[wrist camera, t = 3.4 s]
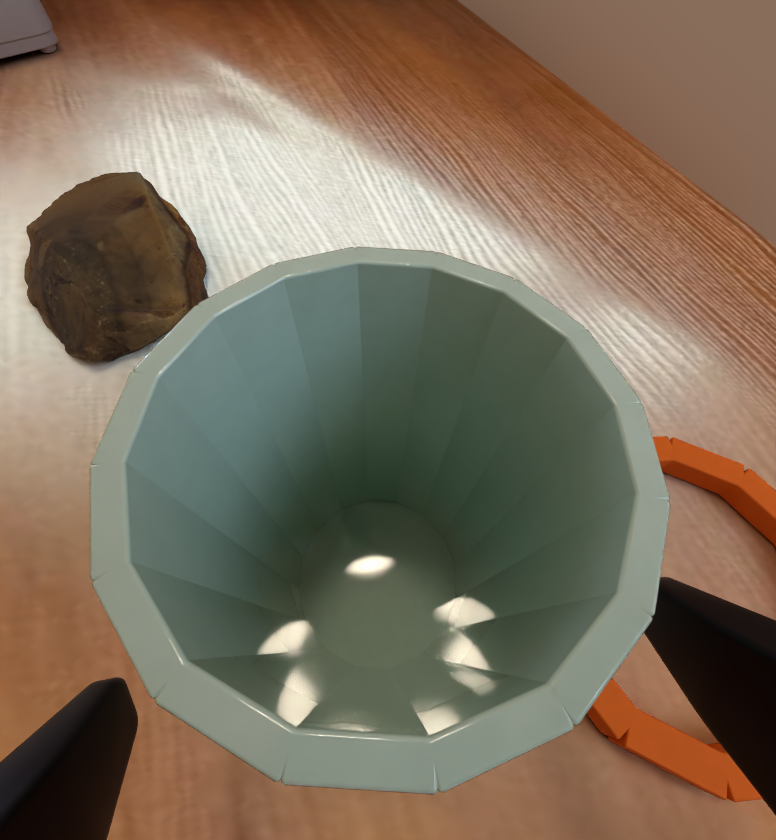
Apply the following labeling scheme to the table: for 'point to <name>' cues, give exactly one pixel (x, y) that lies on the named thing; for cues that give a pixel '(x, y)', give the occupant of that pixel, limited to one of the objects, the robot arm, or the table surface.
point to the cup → (377, 520)
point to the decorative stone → (112, 267)
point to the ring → (612, 707)
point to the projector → (25, 28)
